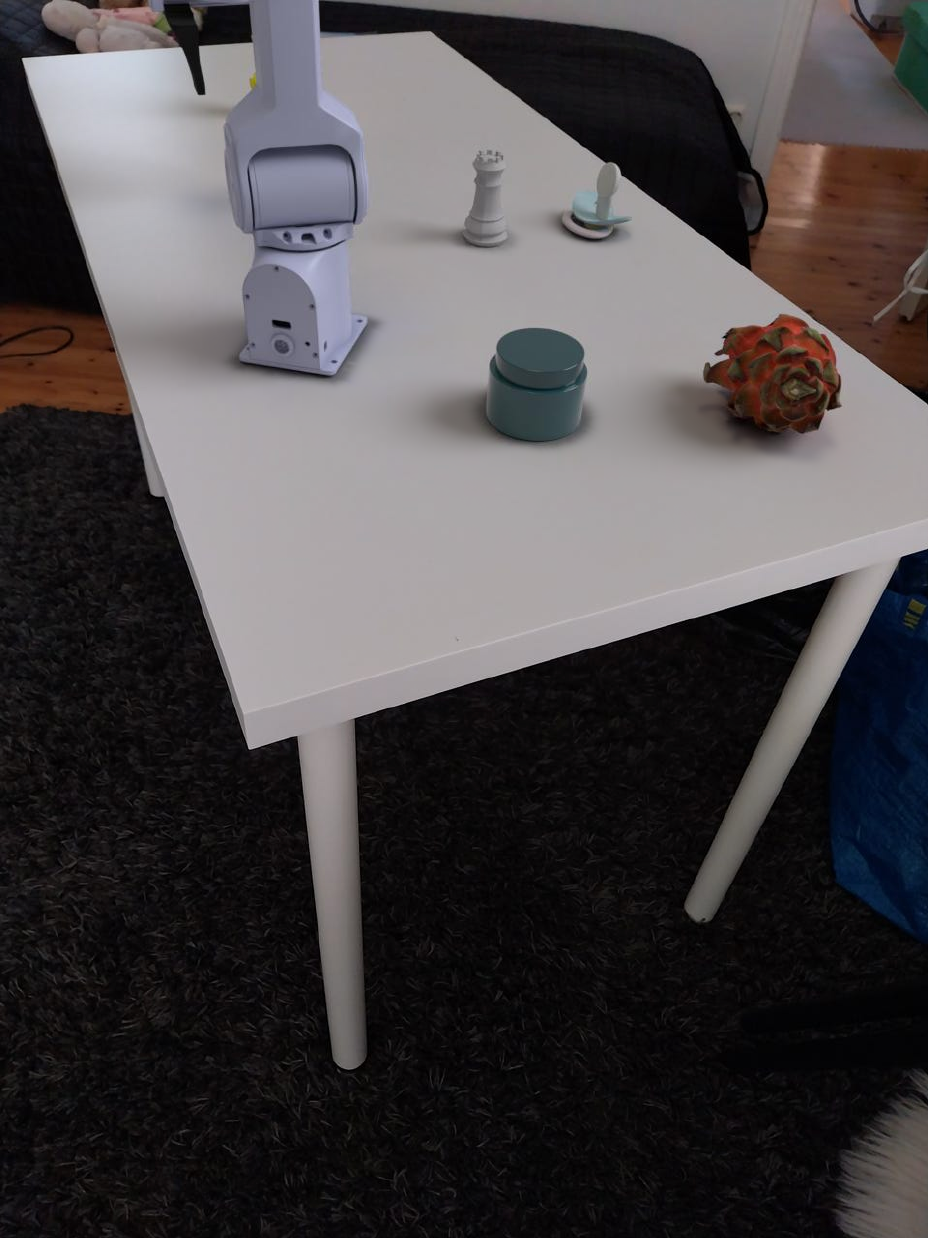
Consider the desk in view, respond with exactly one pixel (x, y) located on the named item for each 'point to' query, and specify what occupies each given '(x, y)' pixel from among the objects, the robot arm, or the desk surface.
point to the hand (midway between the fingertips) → (239, 87)
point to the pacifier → (601, 215)
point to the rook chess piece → (487, 202)
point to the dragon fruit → (778, 374)
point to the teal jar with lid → (536, 384)
